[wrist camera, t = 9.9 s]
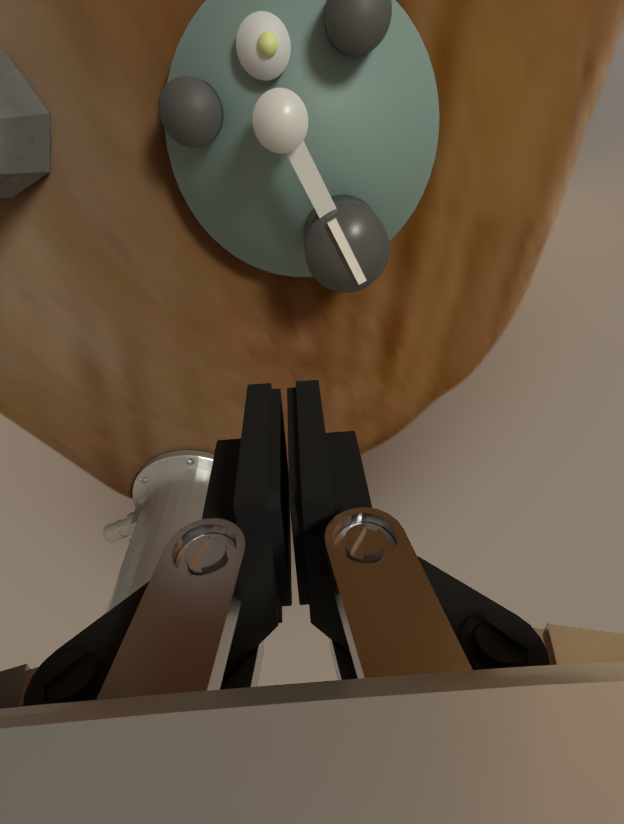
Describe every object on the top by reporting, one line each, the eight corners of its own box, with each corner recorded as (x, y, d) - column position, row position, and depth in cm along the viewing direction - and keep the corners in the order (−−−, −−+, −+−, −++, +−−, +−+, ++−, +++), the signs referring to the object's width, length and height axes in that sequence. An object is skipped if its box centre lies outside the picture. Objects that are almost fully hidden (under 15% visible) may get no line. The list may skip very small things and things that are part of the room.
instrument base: (251, 306, 39) (249, 324, 36) (111, 61, 29) (92, 58, 26) (462, 207, 35) (477, 218, 32) (380, -112, 25) (392, -138, 22)
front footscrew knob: (391, 250, 35) (408, 276, 30) (325, 286, 36) (331, 316, 31) (308, 64, 28) (312, 59, 23) (231, 117, 30) (221, 122, 25)
